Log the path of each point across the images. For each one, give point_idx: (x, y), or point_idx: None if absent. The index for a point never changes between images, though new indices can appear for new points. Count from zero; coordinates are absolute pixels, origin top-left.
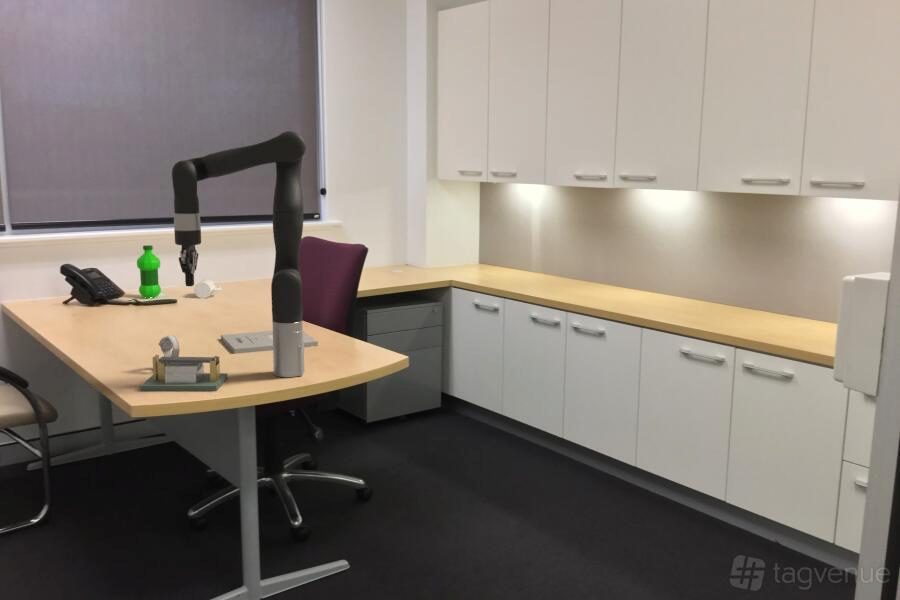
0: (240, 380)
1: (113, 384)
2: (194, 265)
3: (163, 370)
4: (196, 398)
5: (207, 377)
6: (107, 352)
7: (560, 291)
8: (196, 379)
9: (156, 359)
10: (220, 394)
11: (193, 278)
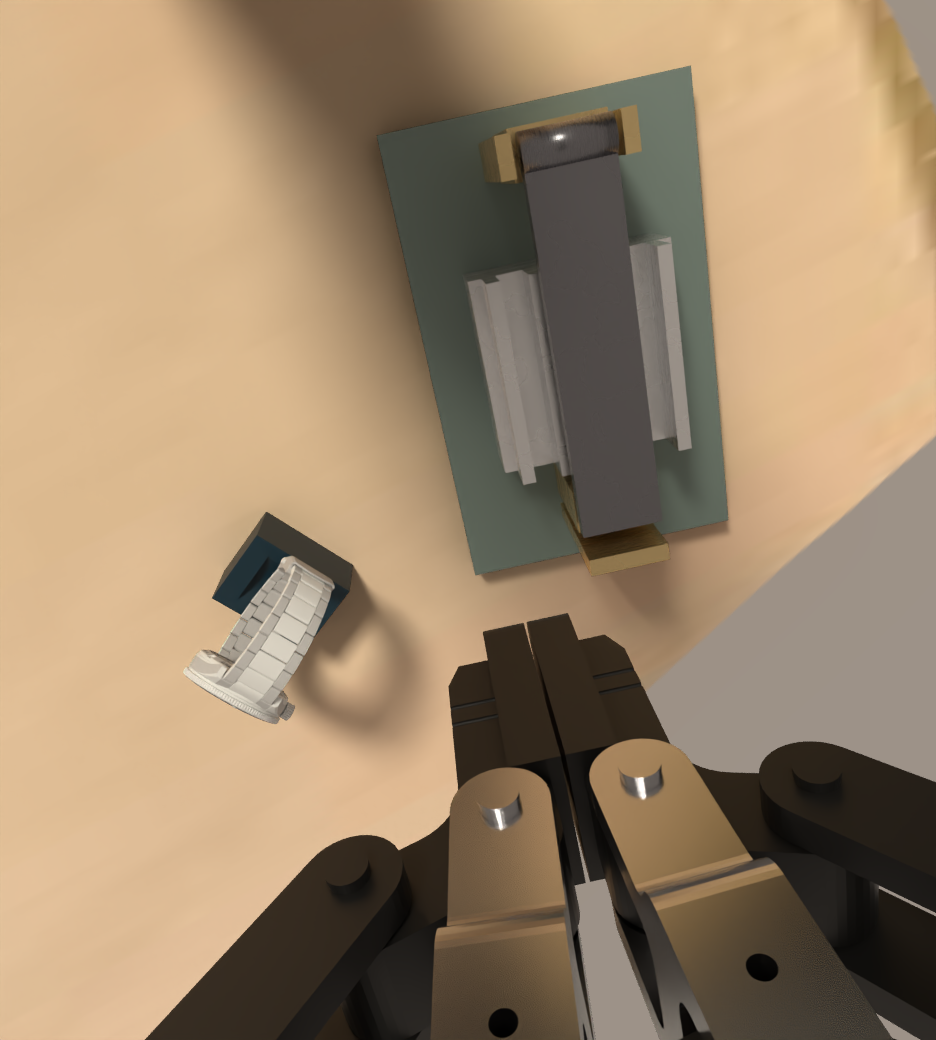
0: (409, 11)
1: None
2: (487, 924)
3: None
4: (840, 128)
5: (502, 228)
6: (85, 1002)
7: None
8: (646, 237)
9: (640, 541)
10: (750, 5)
11: (537, 690)
